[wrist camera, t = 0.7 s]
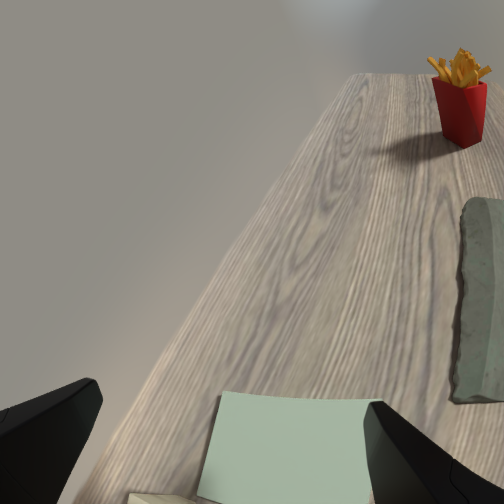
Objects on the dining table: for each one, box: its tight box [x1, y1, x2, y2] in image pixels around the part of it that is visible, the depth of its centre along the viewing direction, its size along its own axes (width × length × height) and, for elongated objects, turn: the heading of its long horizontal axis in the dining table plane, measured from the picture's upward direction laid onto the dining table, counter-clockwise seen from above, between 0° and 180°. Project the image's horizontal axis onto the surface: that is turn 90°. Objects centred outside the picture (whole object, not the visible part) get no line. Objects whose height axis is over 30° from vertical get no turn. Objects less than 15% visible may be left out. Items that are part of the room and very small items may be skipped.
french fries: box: [427, 48, 491, 149], centre depth 27 cm, size 9×8×15 cm
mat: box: [197, 391, 382, 504], centre depth 17 cm, size 10×13×1 cm
